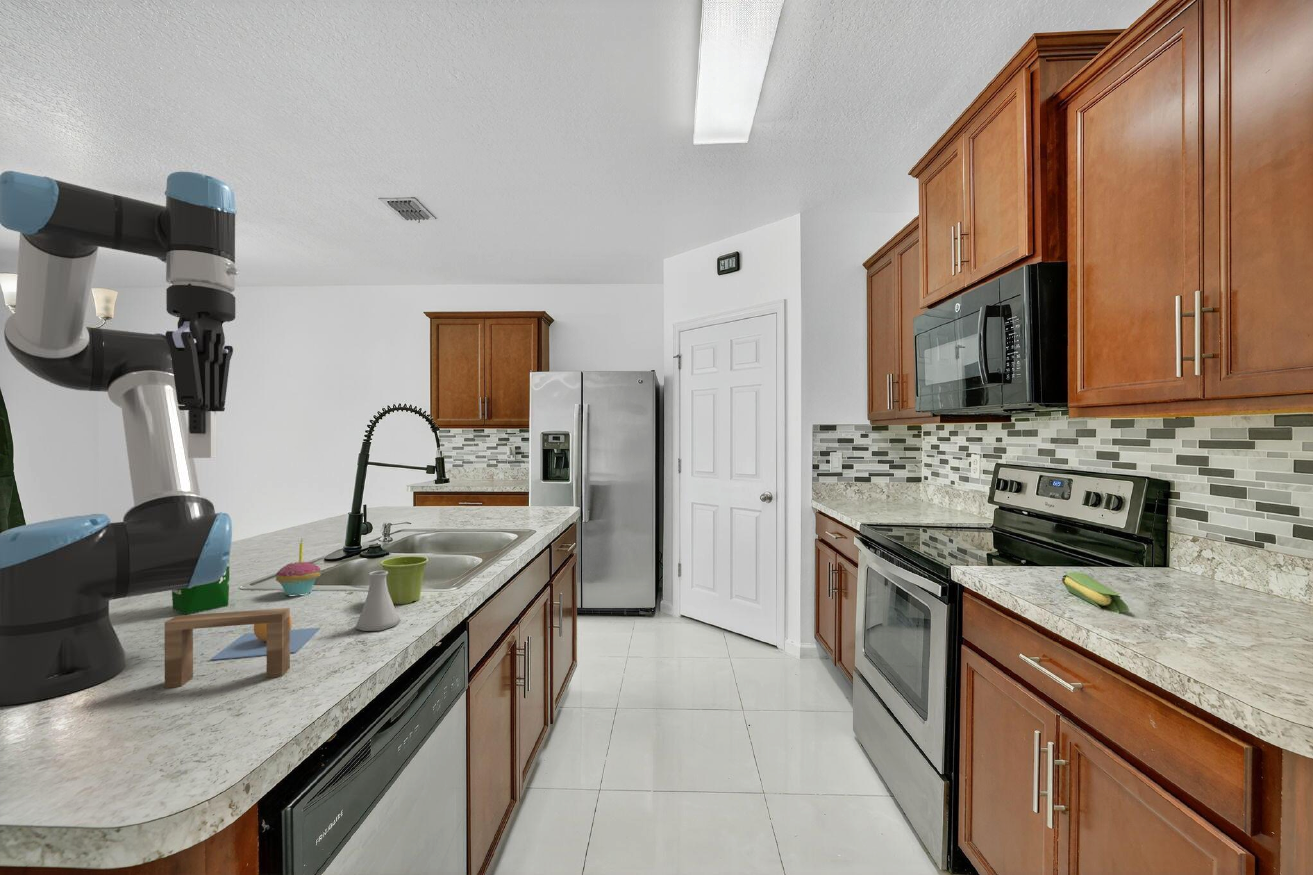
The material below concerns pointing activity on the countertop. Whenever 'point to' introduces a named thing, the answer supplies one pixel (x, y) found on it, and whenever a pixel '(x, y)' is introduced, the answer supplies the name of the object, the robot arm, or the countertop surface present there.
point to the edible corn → (1093, 592)
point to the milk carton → (202, 596)
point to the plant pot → (404, 578)
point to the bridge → (182, 626)
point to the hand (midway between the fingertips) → (202, 457)
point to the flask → (377, 605)
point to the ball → (264, 630)
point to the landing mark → (262, 645)
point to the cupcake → (298, 576)
